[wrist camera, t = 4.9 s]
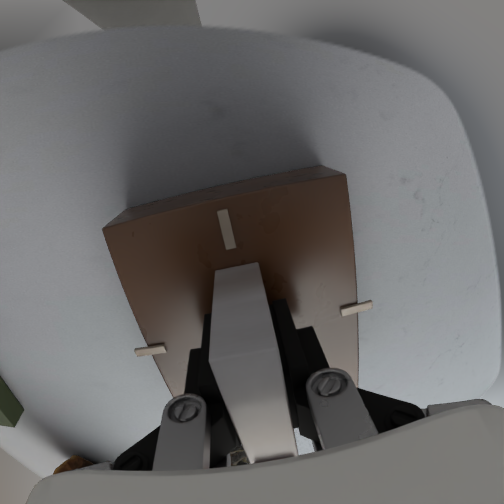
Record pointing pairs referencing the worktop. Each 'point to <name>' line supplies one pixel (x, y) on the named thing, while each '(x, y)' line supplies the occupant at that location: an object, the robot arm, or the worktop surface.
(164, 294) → the block
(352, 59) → the worktop surface
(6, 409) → the button box
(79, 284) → the worktop surface
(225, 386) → the tap handle
